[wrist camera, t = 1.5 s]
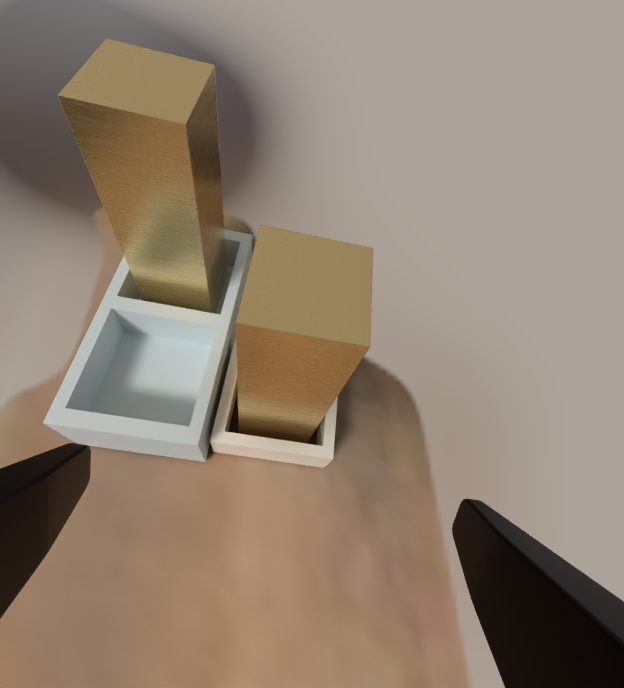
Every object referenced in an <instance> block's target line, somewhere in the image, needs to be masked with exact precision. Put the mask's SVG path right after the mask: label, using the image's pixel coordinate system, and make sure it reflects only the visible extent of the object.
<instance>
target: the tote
mask: <svg viewBox="0 0 624 688" xmlns="http://www.w3.org/2000/svg"><path fill="white" fill-rule="evenodd" d="M237 393H238V386H237V352H236V337H235V341H234V345H233V349H232V353H231V357H230V361H229V365H228V370H227V374H226V378H225V382H224V386H223V390H222V394H221V398H220V402H219V406H218V411H217V415H216V419H215V423H214V427H213V431H212V435H211V439H210V443H211V446H212V449H213V452H218V453H225V454H232V455H239V456H246V457H253V458H260V459H267V460H274V461H281V462H288V463H295V464H302V465H309V466H316V467H323V468H324V467H325V466H326V465H327V464H328V463H330V462H331V461H332V460H333V454H334V441H335V427H336V414H337V400H338V396H337V398H336V399H335V401H334V402H333V404H332V405H331V407H330V408H329V410H328V411H327V413H326V414H325V416H324V417H323V419H322V420H321V422H320V423H319V425H318V428H317V438H316V445H312V444H306V443H299V442H292V441H286V440H279V439H272V438H265V437H259V436H252V435H245V434H239V433H232V432H229V429H230V424H231V420H232V415H233V411H234V406H235V402H236V397H237Z"/></svg>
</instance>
